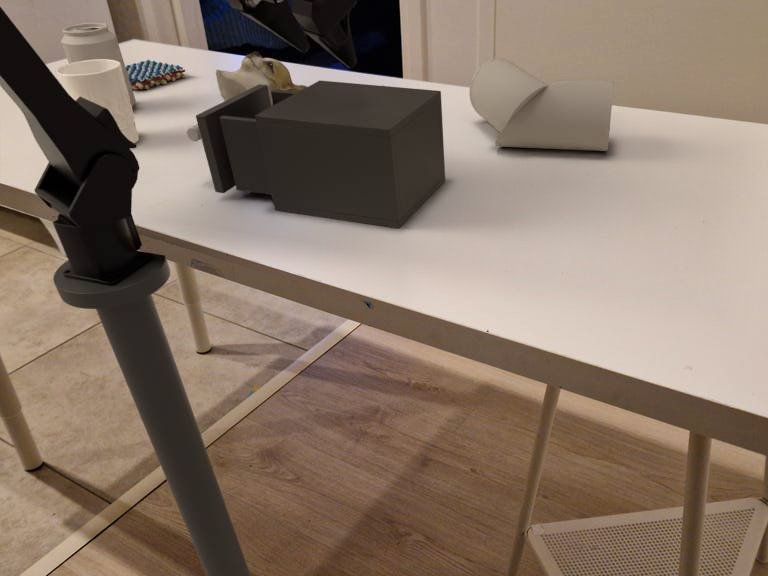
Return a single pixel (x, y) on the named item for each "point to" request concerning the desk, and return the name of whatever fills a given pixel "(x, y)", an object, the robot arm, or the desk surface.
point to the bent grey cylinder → (542, 108)
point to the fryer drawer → (236, 140)
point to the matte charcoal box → (354, 151)
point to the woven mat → (152, 74)
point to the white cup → (101, 89)
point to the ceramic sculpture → (256, 77)
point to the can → (93, 46)
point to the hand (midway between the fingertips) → (329, 57)
